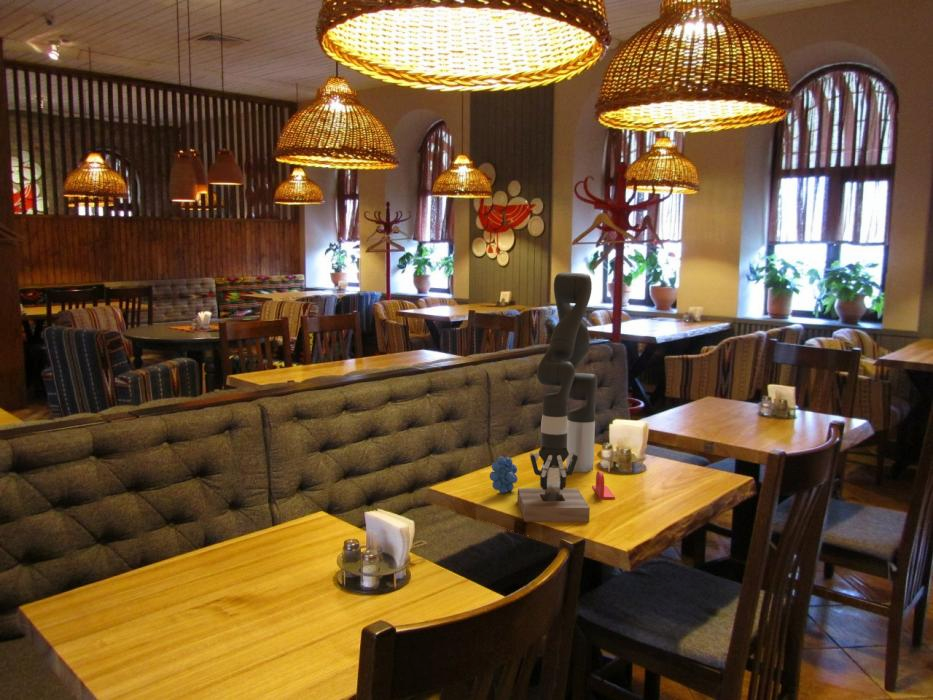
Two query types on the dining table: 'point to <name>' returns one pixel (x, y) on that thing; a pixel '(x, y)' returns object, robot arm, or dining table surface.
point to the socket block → (552, 506)
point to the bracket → (602, 487)
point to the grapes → (503, 474)
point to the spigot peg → (553, 484)
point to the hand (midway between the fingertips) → (552, 488)
